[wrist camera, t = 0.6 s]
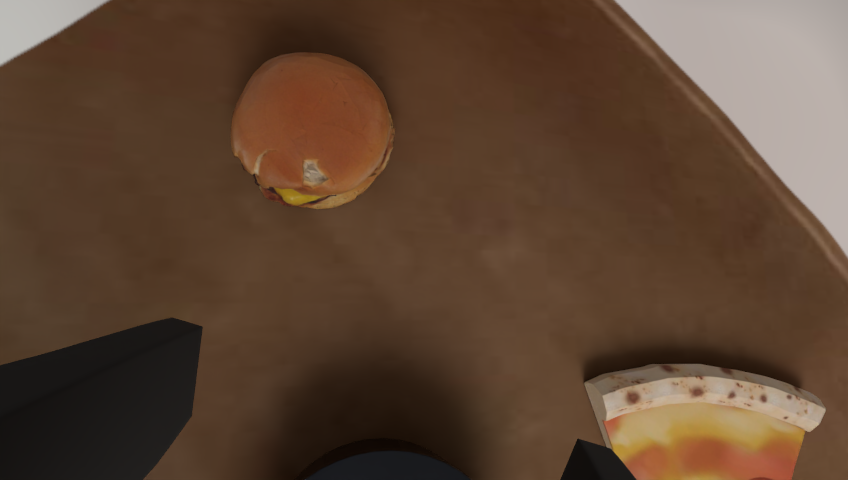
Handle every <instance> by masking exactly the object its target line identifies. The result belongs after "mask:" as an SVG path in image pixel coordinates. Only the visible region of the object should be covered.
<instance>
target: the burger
mask: <svg viewBox="0 0 848 480" xmlns="http://www.w3.org/2000/svg"><path fill="white" fill-rule="evenodd" d="M393 128H394V126H393V121H392V118H391V115H390V112H389V111H388V107H387V103H386V100H385V98H384V95H383V93H382V92H381V90H380V89H379V88H378V86H377V85H376V83H375V82H374V81H373V80H372V79H371V78H370V77H369V75H368V74H367V73H366V72H365V71H364V70H362V69H361V68H359V67H358V66H356V65H354V64H352V63H350V62H348V61H346V60H344V59H342V58H340V57H336V56H332V55H329V54H324V53H309V52H297V53H290V54H282V55H280V56H277V57H274V58H272V59H269V60H268V61H266V62H265V63H263V64H262V65H261V66H260V67H259V68H258V69H257V70H256V71H255V72H254V74H253V75H252V77H251V78H250V80H249V81H248V83H247V85H246V87H245V88H244V90H243V92H242V94H241V96H240V98H239V100H238V102H237V104H236V106H235V110H234V111H233V116H232V124H231V146H232V152H233V154H234V157H238V158H239V159H240V160H241V162H242V166H243V169H244V170H246V171H248V172H249V173H250V174H251V175H253V176H254V177H255V183H256V184H257V185H261V186H260V187H259V188H260V190H261V193H262V194H263V195H264V196H265V197H266V198H267V199H269V200H271V201H273V202H276V201H277V202H279V203H281V204H282V205H285V206H300V207H309V208H314V209H330V208H334V207H338V206H340V205H342V204H345V203H348V202H350V201H352V200H354V199H356V196H358V195H360V194H361V193H363V192H364V191H365V190H367V189H368V187H369V186H370V185H371V184H372V183H373V181H374V180H375V178H376V177H377V176H378V175H379V174H380V173H381V172H382V171H383V169H384V168H385V167H386V165H387V163H388V162H389V157H390V153H391V151H392V148H393V146H392V145H393V143H394V142H393V139H394V133H395V132H394V131H395V128H394V129H393Z"/></svg>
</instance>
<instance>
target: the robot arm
mask: <svg viewBox="0 0 848 480" xmlns="http://www.w3.org/2000/svg"><path fill="white" fill-rule="evenodd" d="M201 335H202V326H199V325H195V324H192V323H189V322H185V321H182V320H179V319H175V318H168V319H164V320H159V321H155V322H151V323H148V324H144V325H141V326H137V327H134V328H130V329H127V330H123V331H120V332H116V333H113V334H110V335H106V336H103V337H100V338H96V339H93V340H89V341H86V342H83V343H79V344H76V345H72V346H69V347H66V348H62V349H59V350H55V351H52V352H49V353H45V354H42V355H38V356H34V357H30V358H26V359H22V360H19V361H15V362H11V363H7V364H3V365H0V480H143V478H144V477H145V476H146V475H147V474H148V473H149V472H150V471H151V470H152V469H153V467H154V466H155V465H156V464H157V463H158V461H159V460H160V459H161V457H162V456H163V455H164V453H165V452H166V451H167V449H168V448H169V447H170V445H171V444H172V443H173V441H174V440H175V439H176V437H177V436H178V434H179V433H180V432H181V430H182V429H183V427H184V426H185V424H186V423H187V422H188V420H189V419H190V417H191V416H192V408H193V400H194V392H195V384H196V376H197V368H198V360H199V351H200V343H201ZM560 480H637V479H636V478H635V477H634V476H633V474H632V473H631V472H630V470H629V469H628V468H627V467H626V465H625V464H624V463H623V462H622V461H621V459H620V458H619V457H618V456H617V455H616V454H615V452H614V451H613V450H612V449H611V448H607V447H604V446H601V445H597V444H594V443H591V442H587V441H584V440H580V439H577V442H576V444H575V446H574V449H573V451H572V453H571V456H570V458H569V461H568V463H567V465H566V468H565V470H564V472H563V475H562V477H561V479H560Z"/></svg>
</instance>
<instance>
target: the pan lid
mask: <svg viewBox="0 0 848 480" xmlns="http://www.w3.org/2000/svg"><path fill="white" fill-rule="evenodd" d="M301 480H472V479H471V478H470V477H469V476H467V475H466V474H465V473H463V472H462V471H461V470H459V469H458V468H456V467H454V466H453V465H451V464H449V463H447V462H445V461H444V460H441V459H439V458H436V457H434V456H431V455H428V454H425V453H421V452H417V451H412V450H405V449H394V448H388V449H373V450H367V451H362V452H357V453H353V454H350V455H347V456H344V457H341V458H338V459H336V460H334V461H332V462H330V463H328V464H326V465H324V466H321V467H319V468H318V469H316V470H315V471H313V472H312V473H310V474H309V475H307V476H306V477H304V478H303V479H301Z"/></svg>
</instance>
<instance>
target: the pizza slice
mask: <svg viewBox="0 0 848 480" xmlns="http://www.w3.org/2000/svg"><path fill="white" fill-rule="evenodd" d="M585 387H586V390H587V393H588V396H589V399H590V401H591V404H592V407H593V410H594V413H595V416H596V419H597V421H598V424H599V427H600V430H601V433H602V436H603V439H604V441H605V444H606V447H607V448H611V449H612V450H613V451H614V452H615V454H616V455H617V456H618V457H619V458H620V459H621V461H622V462H623V463H624V464H625V465H626V467H627V468H628V469H629V470H630V472H631V473H632V474H633V476H634V477H635V478H636V479H637V480H791V478H792V474H793V471H794V468H795V464H796V461H797V457H798V454H799V450H800V447H801V444H802V440H803V437H804V433H805V431H808V432H810V431H812V430H813V429H814V428H815V427H816V426H818V425H819V424H820V422H821V420H822V418H823V416H824V413H825V411H826V408H825V407H824V405H823V404H822V402H821V401H820V399H819V398H818V397H816V396H815V395H813V394H812V393H809V392H807V391H805V390H802V389H800V388H797V387H795V386H793V385H790V384H788V383H785V382H782V381H778V380H775V379H772V378H769V377H766V376H762V375H757V374H753V373H748V372H744V371H739V370H733V369H727V368H720V367H714V366H708V365H703V364H650V365H646V366H643V367H639V368H633V369H628V370H622V371H616V372H611V373H605V374H602V375H599V376H597V377H595V378H593V379H591V380H588V381H586V382H585Z"/></svg>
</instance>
